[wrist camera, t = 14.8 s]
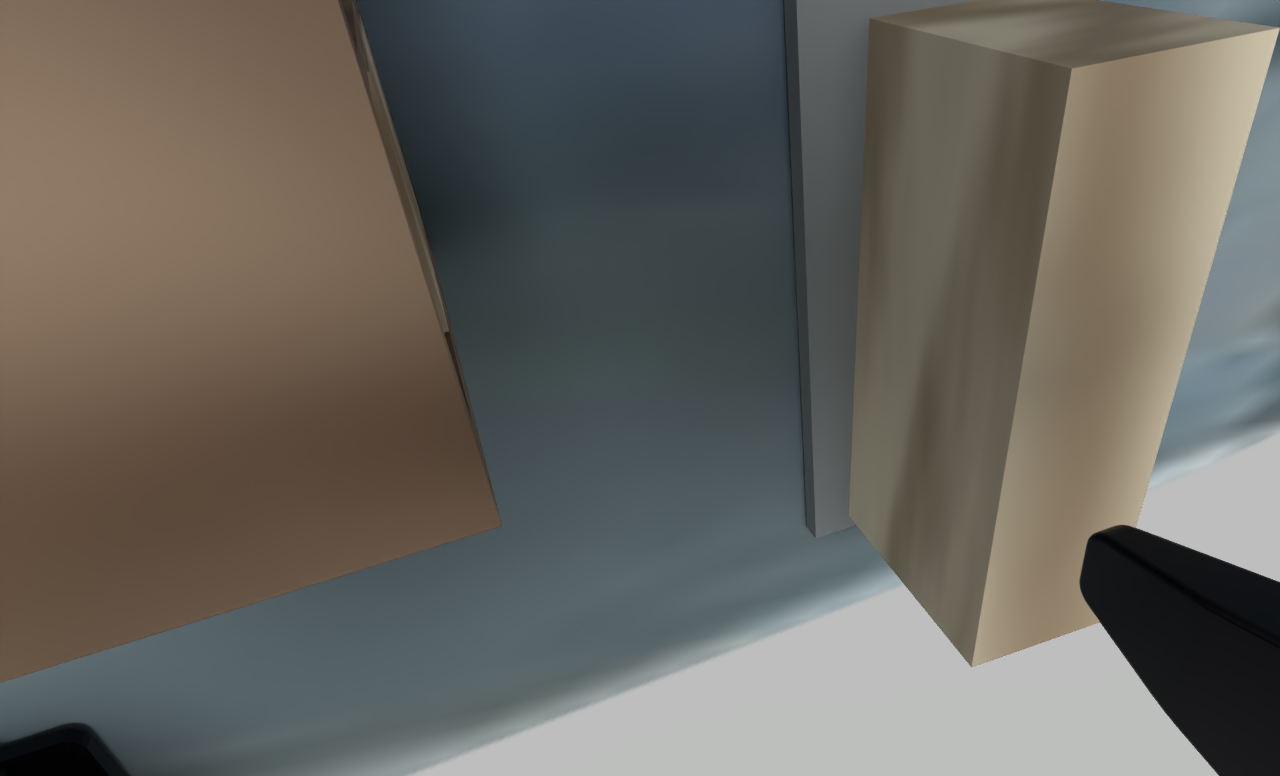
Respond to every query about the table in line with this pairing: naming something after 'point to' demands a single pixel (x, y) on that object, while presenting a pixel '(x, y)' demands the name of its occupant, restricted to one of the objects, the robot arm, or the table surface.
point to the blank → (1031, 287)
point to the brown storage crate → (210, 322)
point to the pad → (829, 228)
